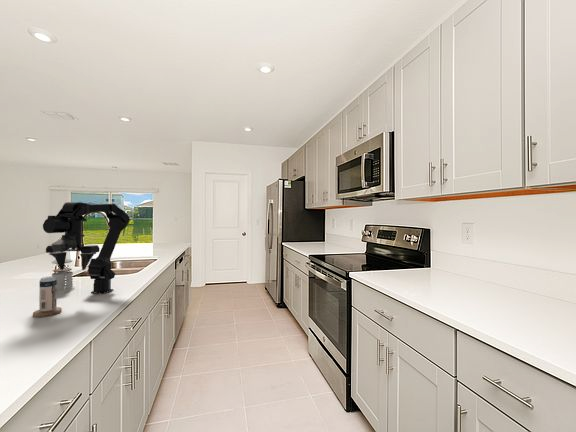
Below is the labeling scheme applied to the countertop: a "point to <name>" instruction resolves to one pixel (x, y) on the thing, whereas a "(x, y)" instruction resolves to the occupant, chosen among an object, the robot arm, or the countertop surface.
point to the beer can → (48, 294)
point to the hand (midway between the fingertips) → (72, 269)
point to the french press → (61, 277)
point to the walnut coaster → (47, 313)
